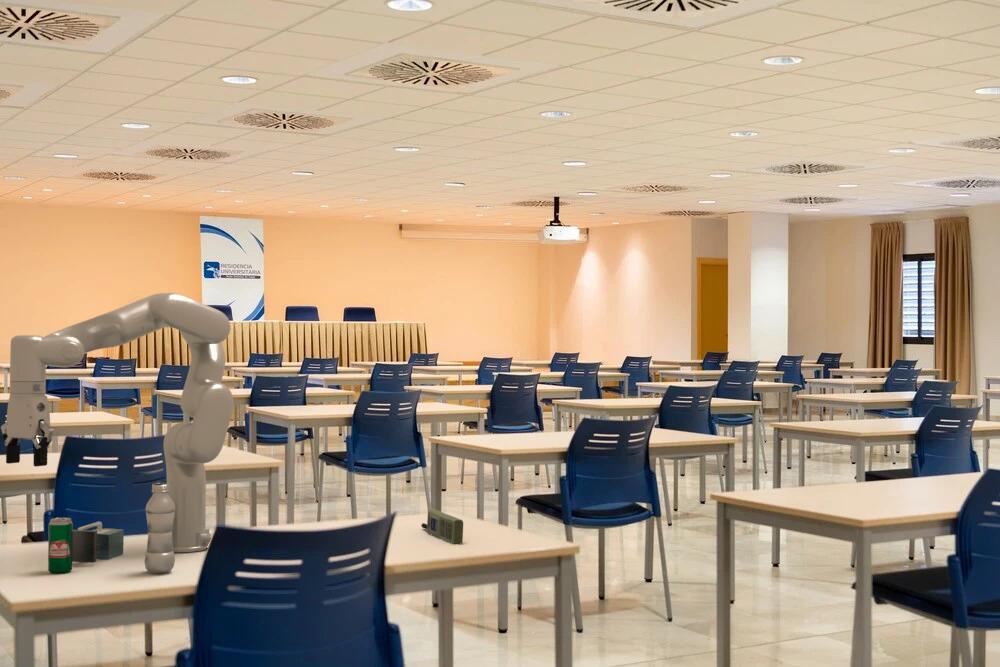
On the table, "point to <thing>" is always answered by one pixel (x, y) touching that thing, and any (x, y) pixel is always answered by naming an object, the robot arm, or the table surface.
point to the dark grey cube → (110, 543)
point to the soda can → (60, 545)
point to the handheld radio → (444, 526)
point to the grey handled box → (85, 544)
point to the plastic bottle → (160, 530)
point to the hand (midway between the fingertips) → (26, 464)
